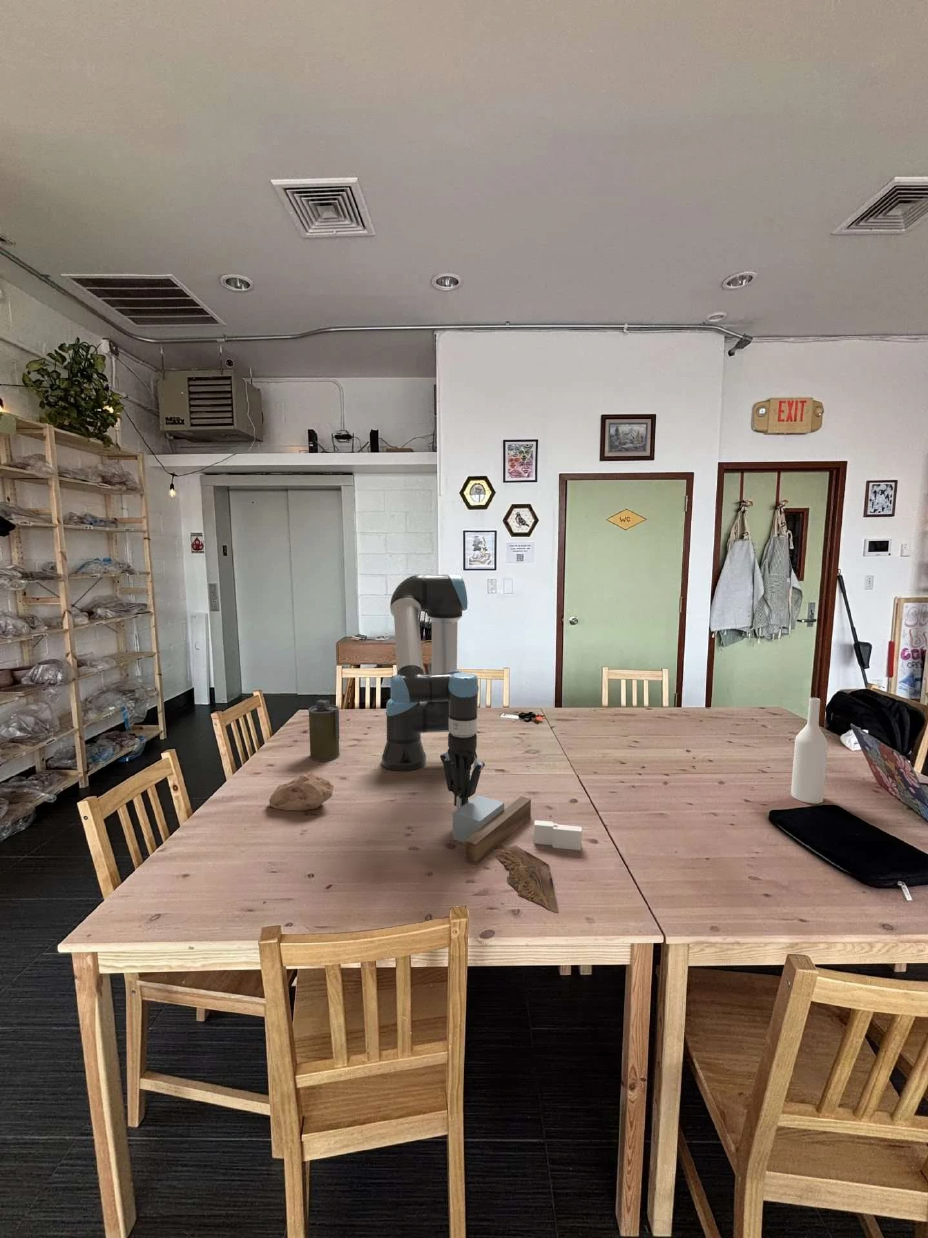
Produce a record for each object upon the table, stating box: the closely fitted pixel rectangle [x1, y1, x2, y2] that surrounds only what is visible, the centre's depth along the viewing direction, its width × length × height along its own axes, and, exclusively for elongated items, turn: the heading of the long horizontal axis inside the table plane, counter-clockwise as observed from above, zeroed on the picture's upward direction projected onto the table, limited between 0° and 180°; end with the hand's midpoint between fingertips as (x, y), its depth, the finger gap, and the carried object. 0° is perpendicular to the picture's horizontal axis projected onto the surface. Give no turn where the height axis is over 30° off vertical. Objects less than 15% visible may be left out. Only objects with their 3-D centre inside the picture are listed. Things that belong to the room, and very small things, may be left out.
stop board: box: [464, 795, 532, 865], centre depth 137 cm, size 3×28×5 cm, turn 146°
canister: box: [307, 699, 341, 762], centre depth 191 cm, size 11×10×20 cm
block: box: [452, 794, 505, 844], centre depth 139 cm, size 8×12×7 cm, turn 146°
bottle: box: [790, 697, 829, 805], centre depth 158 cm, size 8×8×30 cm
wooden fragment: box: [495, 844, 559, 914], centre depth 121 cm, size 26×11×1 cm, turn 12°
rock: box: [269, 772, 335, 811], centre depth 153 cm, size 18×10×10 cm, turn 93°
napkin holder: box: [533, 819, 583, 851], centre depth 134 cm, size 15×11×6 cm
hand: (460, 818), depth 144 cm, fingers closed
